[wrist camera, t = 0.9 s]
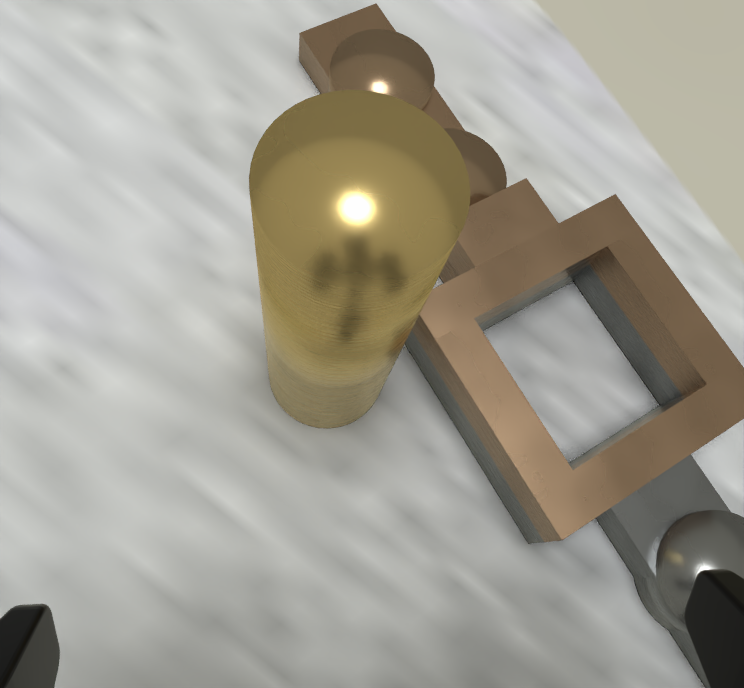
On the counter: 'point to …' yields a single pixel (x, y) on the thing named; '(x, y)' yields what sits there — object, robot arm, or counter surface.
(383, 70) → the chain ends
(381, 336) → the brass pin
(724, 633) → the robot arm
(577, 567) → the counter surface
